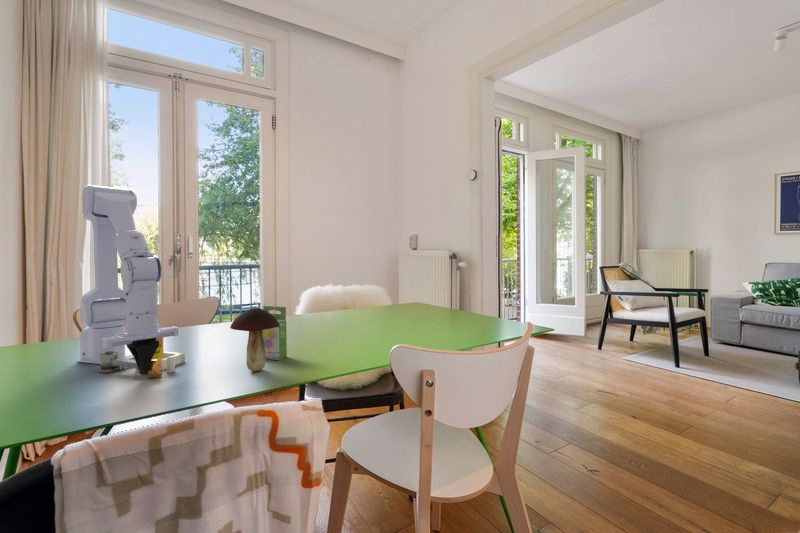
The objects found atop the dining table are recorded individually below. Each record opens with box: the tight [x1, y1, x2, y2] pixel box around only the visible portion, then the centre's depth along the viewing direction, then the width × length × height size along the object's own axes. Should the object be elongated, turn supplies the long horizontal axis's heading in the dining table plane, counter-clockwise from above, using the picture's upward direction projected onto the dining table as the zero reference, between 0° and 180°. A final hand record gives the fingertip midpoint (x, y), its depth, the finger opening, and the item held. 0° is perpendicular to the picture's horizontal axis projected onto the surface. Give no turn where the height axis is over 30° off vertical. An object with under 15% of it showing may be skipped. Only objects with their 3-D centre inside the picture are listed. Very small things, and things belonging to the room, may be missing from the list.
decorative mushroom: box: [229, 307, 280, 373], centre depth 93 cm, size 11×11×15 cm
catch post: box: [166, 356, 176, 374], centre depth 92 cm, size 2×2×4 cm
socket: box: [120, 350, 186, 371], centre depth 97 cm, size 10×9×2 cm
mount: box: [98, 366, 121, 375], centre depth 93 cm, size 4×4×1 cm
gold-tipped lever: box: [99, 351, 163, 379], centre depth 91 cm, size 17×4×4 cm, turn 72°
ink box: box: [262, 305, 288, 361], centre depth 104 cm, size 7×4×13 cm, turn 75°
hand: (143, 374), depth 86 cm, fingers closed
